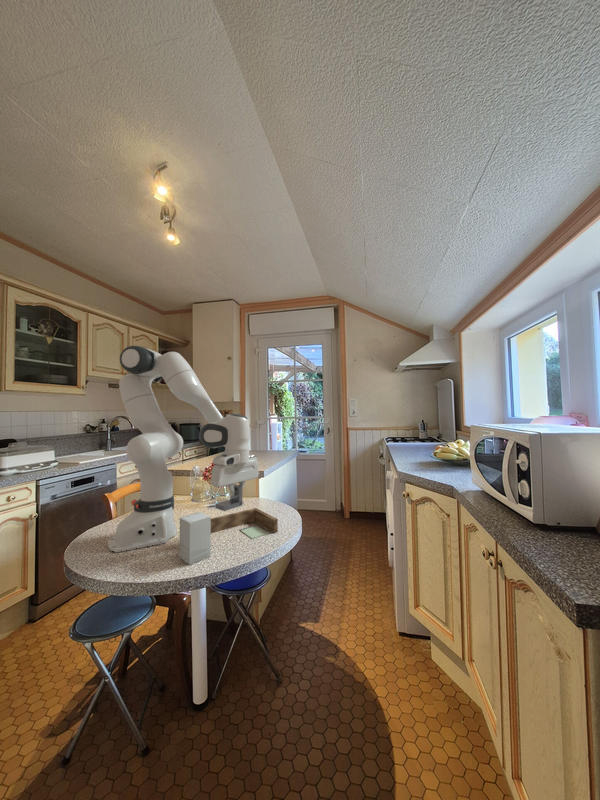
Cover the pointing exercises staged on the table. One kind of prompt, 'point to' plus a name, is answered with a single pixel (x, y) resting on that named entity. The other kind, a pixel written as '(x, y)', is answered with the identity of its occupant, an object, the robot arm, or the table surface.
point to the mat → (253, 531)
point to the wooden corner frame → (244, 520)
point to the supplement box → (195, 537)
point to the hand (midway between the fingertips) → (236, 494)
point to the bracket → (232, 500)
